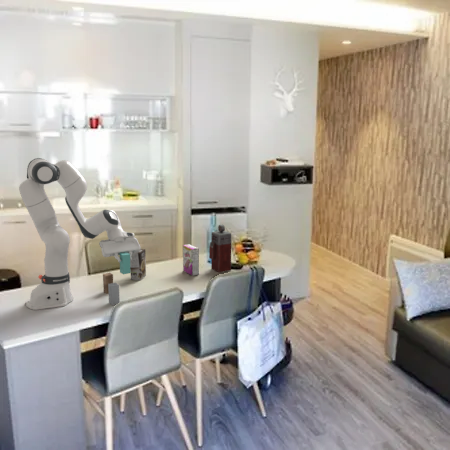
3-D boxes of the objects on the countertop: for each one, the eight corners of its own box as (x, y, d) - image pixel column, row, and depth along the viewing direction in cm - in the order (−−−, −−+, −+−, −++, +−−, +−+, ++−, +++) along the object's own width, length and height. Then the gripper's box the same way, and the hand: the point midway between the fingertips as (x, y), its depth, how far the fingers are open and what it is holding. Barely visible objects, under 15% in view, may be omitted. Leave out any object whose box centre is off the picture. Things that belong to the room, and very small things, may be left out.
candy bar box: (182, 271, 310) (182, 244, 307) (189, 269, 313) (189, 243, 310) (192, 276, 301) (191, 249, 298) (199, 274, 304) (199, 247, 300)
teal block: (123, 274, 261) (122, 255, 259) (119, 272, 264) (119, 253, 262) (130, 273, 263) (130, 254, 261) (127, 271, 266) (126, 252, 264)
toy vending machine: (207, 269, 315) (208, 224, 309) (223, 266, 321) (223, 222, 315) (215, 273, 307) (215, 227, 301) (231, 270, 313) (231, 225, 307)
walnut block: (106, 293, 270) (105, 275, 268) (103, 291, 273) (102, 273, 271) (113, 292, 272) (112, 274, 270) (110, 290, 276) (110, 272, 274)
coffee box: (140, 280, 293) (140, 253, 289) (130, 279, 294) (129, 252, 290) (146, 275, 301) (145, 249, 298) (136, 274, 303) (135, 248, 299)
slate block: (112, 305, 254) (111, 286, 252) (108, 302, 258) (108, 283, 255) (119, 303, 257) (118, 284, 254) (116, 301, 260) (115, 282, 258)
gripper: (99, 237, 259) (107, 260, 253) (136, 232, 271) (145, 255, 265) (96, 244, 264) (104, 267, 258) (133, 239, 275) (141, 261, 269)
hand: (125, 260), depth 262 cm, fingers closed on teal block, 4 cm apart
